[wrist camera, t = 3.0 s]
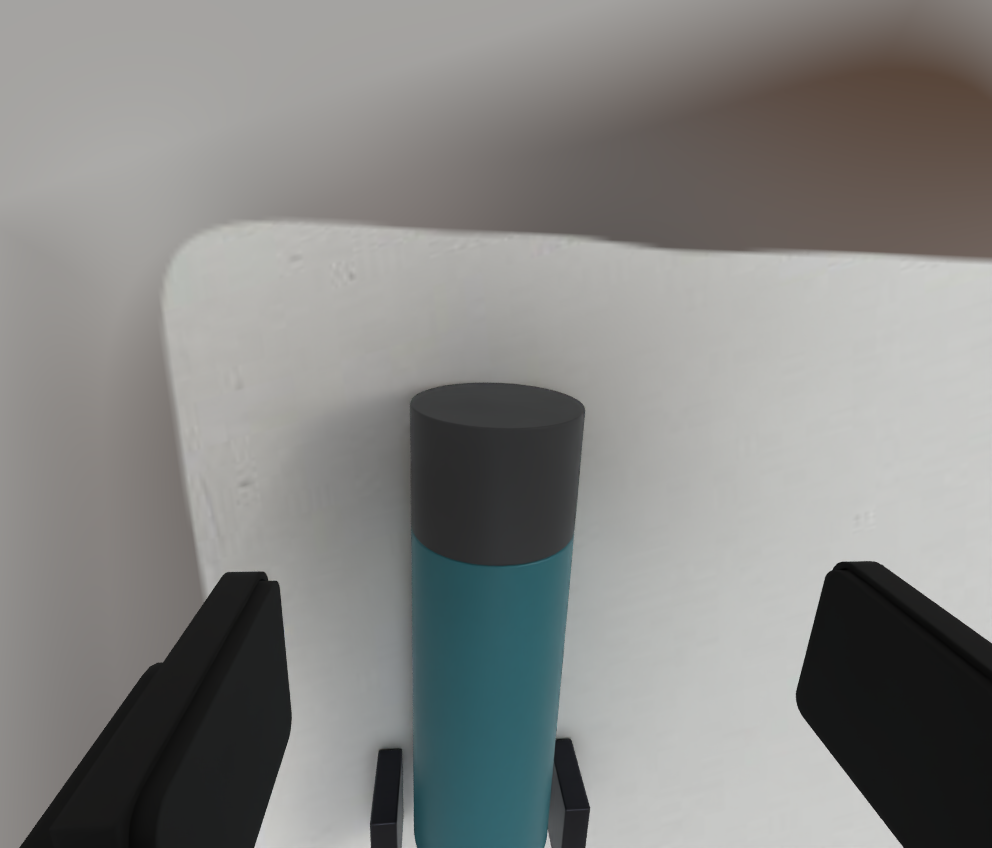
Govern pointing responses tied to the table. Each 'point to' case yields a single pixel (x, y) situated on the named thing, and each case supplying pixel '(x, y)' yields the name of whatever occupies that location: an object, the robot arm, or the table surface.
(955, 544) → the table surface
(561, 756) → the bracket
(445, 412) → the teal capped cylinder
